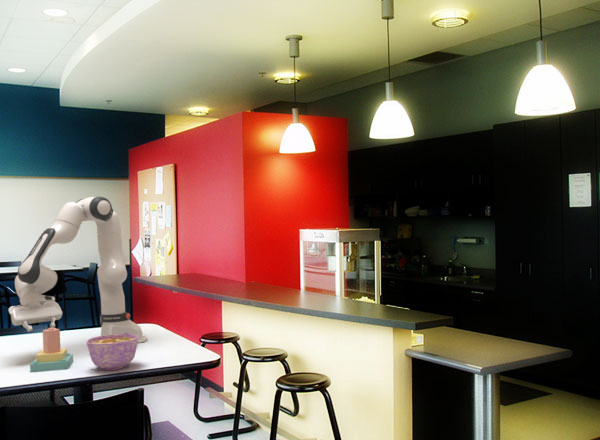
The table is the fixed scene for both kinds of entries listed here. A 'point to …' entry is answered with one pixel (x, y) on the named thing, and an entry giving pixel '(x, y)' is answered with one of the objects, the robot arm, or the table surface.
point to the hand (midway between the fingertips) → (41, 328)
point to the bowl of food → (112, 350)
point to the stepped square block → (51, 361)
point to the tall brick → (51, 340)
